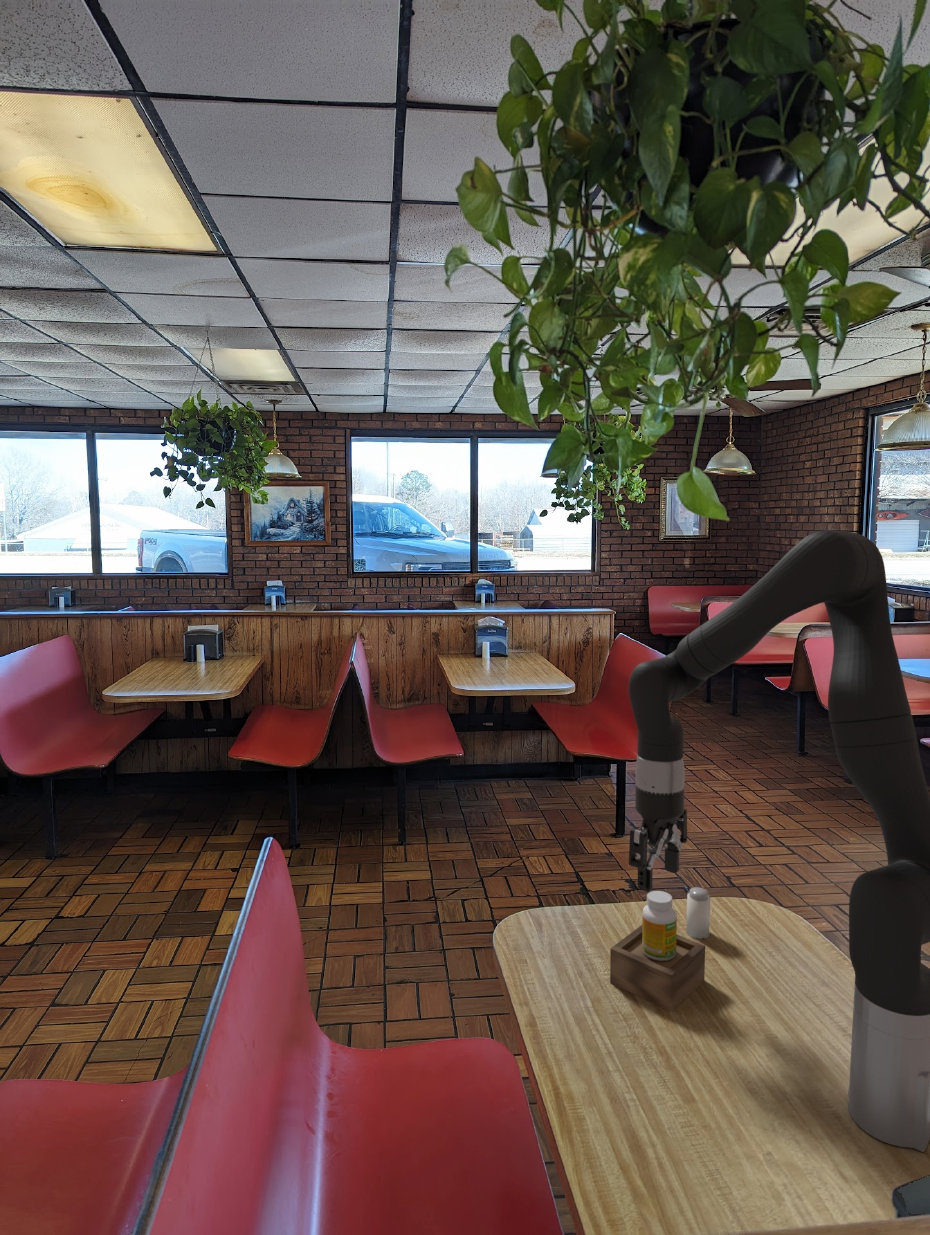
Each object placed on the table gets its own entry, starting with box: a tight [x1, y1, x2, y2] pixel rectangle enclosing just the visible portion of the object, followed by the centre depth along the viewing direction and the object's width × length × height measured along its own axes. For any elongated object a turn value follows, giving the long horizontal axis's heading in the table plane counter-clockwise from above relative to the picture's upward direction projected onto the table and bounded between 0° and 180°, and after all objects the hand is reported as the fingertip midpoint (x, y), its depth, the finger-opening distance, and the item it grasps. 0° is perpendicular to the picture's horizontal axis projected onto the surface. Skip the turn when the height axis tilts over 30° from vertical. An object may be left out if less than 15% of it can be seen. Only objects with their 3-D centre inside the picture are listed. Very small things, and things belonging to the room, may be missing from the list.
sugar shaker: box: [686, 886, 711, 940], centre depth 139 cm, size 4×4×8 cm
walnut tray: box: [609, 924, 706, 1013], centre depth 125 cm, size 11×11×6 cm
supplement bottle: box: [641, 890, 678, 961], centre depth 124 cm, size 5×5×10 cm
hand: (658, 880), depth 123 cm, fingers open, 8 cm apart
